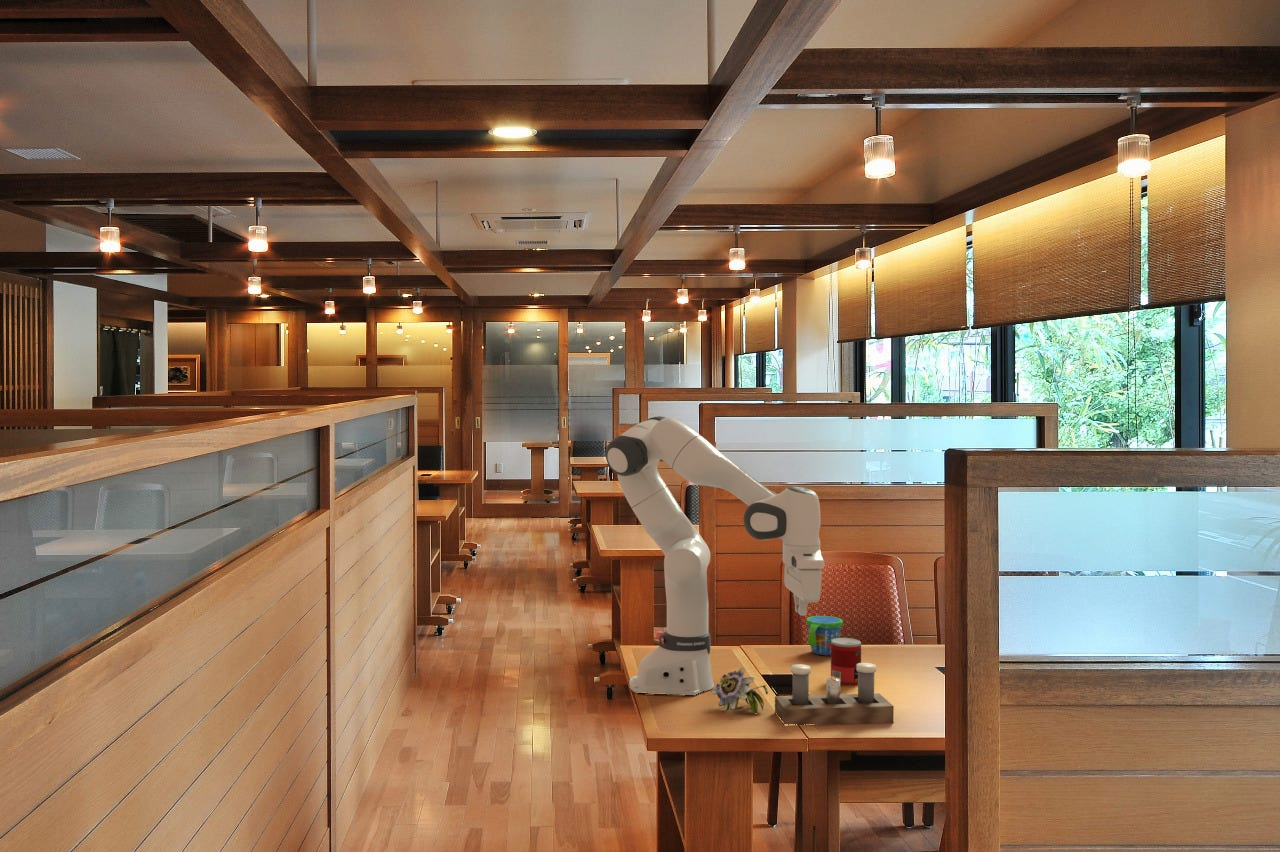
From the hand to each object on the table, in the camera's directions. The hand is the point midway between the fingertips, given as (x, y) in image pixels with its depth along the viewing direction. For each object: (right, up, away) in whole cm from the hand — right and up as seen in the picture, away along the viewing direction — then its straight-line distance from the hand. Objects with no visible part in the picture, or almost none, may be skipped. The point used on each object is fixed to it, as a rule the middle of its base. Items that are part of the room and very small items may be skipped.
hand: (801, 613), depth 235 cm
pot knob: (+8, -22, +1) cm, 23 cm away
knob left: (0, -22, +1) cm, 22 cm away
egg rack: (+8, -25, +1) cm, 26 cm away
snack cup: (+17, -24, +61) cm, 68 cm away
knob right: (+16, -22, +2) cm, 27 cm away
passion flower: (-14, -25, +8) cm, 30 cm away
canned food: (+17, -24, +31) cm, 43 cm away
